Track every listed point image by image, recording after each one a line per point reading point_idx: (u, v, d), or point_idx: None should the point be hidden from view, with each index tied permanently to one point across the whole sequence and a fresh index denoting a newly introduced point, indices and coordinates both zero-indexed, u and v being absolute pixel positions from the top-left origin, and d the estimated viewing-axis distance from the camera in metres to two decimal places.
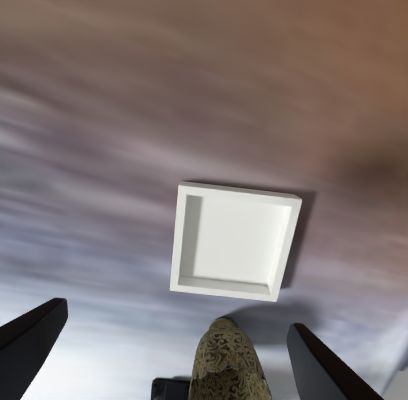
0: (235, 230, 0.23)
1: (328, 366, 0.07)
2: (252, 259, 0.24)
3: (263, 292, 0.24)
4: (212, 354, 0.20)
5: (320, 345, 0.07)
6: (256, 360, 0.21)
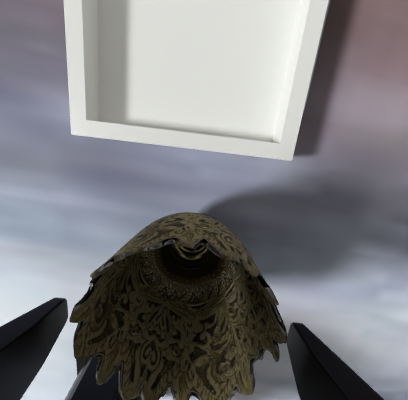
0: (205, 1, 0.11)
1: (328, 366, 0.07)
2: (243, 77, 0.12)
3: (265, 142, 0.12)
4: (139, 236, 0.08)
5: (320, 346, 0.07)
6: (248, 256, 0.09)
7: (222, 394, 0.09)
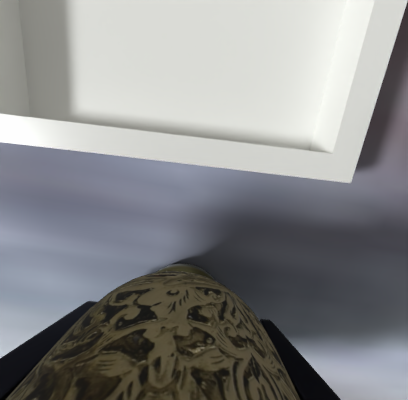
0: None
1: (286, 362, 0.07)
2: (265, 42, 0.07)
3: None
4: (41, 384, 0.03)
5: (283, 342, 0.07)
6: None
7: None
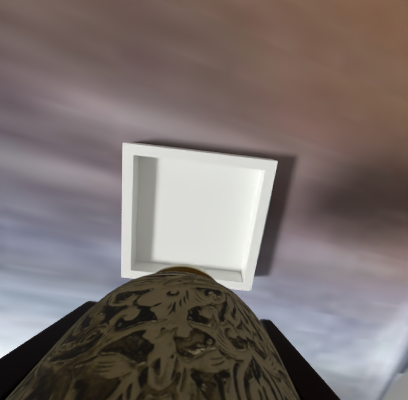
0: (199, 204, 0.19)
1: (286, 362, 0.07)
2: (222, 240, 0.20)
3: (235, 279, 0.20)
4: (39, 385, 0.03)
5: (282, 342, 0.07)
6: None
7: None
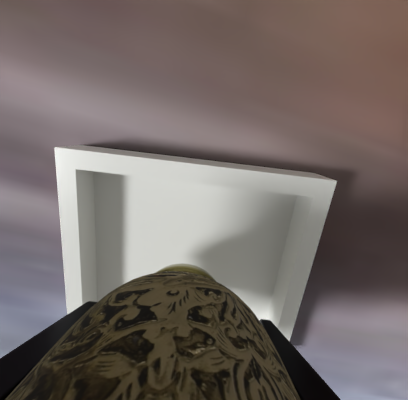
0: (196, 246, 0.12)
1: (286, 362, 0.07)
2: None
3: None
4: (39, 384, 0.03)
5: (283, 342, 0.07)
6: None
7: None
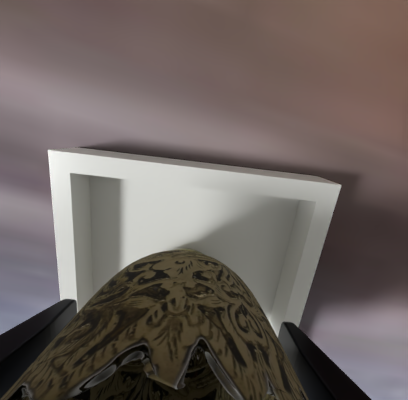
0: None
1: (316, 365, 0.07)
2: None
3: None
4: (89, 317, 0.05)
5: (309, 345, 0.07)
6: (274, 340, 0.05)
7: None
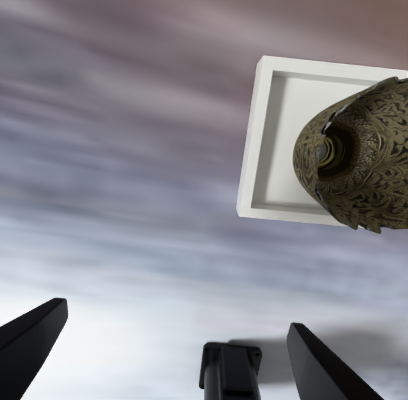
0: None
1: (328, 366, 0.07)
2: None
3: None
4: None
5: (320, 346, 0.07)
6: None
7: None
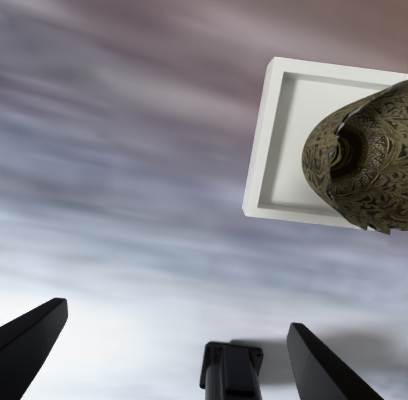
0: None
1: (328, 366, 0.07)
2: None
3: None
4: None
5: (320, 346, 0.07)
6: None
7: None
